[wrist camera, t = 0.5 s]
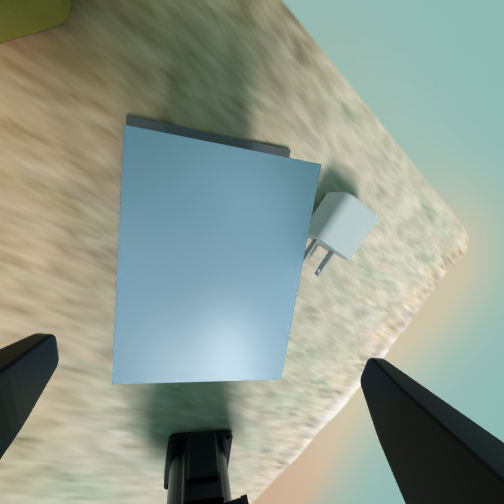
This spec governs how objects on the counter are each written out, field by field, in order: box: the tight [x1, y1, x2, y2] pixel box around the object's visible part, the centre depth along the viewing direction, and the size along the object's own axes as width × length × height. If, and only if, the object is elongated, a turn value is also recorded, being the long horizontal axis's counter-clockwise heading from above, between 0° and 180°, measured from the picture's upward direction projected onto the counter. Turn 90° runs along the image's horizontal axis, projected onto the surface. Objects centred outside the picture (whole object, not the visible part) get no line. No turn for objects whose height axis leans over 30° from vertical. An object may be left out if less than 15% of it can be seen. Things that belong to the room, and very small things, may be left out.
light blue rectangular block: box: [112, 125, 321, 384], centre depth 16 cm, size 10×7×12 cm
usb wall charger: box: [303, 192, 379, 276], centre depth 23 cm, size 4×7×4 cm, turn 146°
